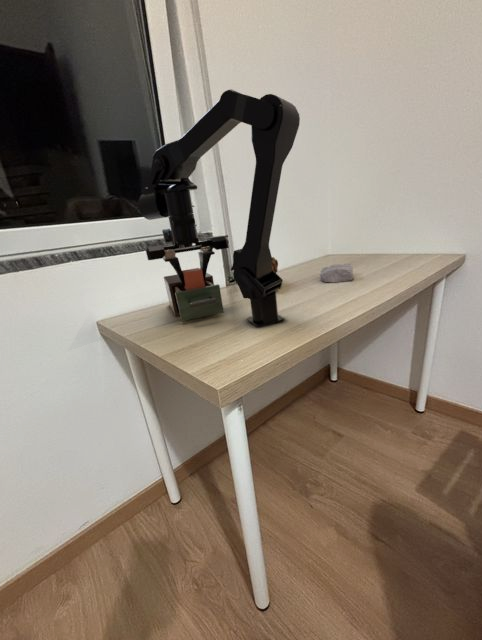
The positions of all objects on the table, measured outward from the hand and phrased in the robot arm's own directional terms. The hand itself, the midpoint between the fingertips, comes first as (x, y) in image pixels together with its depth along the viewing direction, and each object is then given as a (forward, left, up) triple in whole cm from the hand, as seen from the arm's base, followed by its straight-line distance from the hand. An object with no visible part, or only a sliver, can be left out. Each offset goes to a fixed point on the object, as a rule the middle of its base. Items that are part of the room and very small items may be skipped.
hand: (194, 284), depth 75 cm
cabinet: (+11, 0, -8) cm, 14 cm away
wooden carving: (+15, -27, -8) cm, 32 cm away
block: (0, 0, -1) cm, 1 cm away
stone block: (+10, -47, -8) cm, 49 cm away
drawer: (-1, 0, -7) cm, 7 cm away
